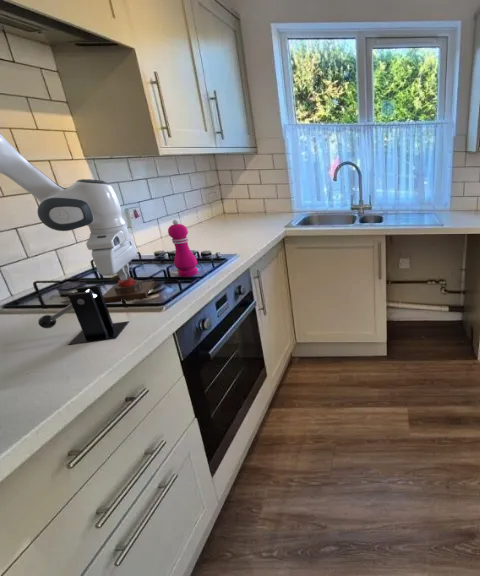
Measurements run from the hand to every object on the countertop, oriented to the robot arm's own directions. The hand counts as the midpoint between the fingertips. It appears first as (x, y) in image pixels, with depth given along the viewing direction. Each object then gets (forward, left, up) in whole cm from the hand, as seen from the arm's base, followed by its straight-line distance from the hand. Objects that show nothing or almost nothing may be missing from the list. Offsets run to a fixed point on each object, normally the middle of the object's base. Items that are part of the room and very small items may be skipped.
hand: (125, 278), depth 113 cm
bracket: (+2, -27, -6) cm, 28 cm away
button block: (0, 0, -6) cm, 6 cm away
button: (0, 0, -2) cm, 2 cm away
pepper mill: (+14, +15, -6) cm, 21 cm away
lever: (-2, -27, +1) cm, 27 cm away
